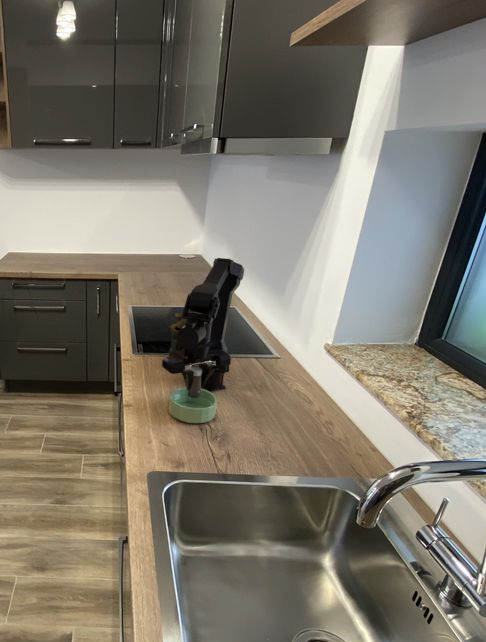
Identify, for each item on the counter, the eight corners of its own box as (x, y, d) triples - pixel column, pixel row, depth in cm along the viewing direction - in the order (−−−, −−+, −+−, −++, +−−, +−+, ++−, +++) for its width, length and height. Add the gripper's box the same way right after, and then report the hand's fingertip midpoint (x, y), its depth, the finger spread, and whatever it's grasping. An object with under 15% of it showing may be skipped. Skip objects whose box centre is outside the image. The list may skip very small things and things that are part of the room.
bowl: (199, 399, 136) (201, 384, 134) (224, 420, 125) (226, 404, 123) (160, 406, 132) (161, 391, 130) (183, 428, 121) (184, 412, 119)
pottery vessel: (195, 381, 147) (201, 324, 139) (163, 377, 150) (167, 321, 142) (201, 353, 169) (207, 303, 161) (173, 350, 172) (177, 300, 164)
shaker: (195, 391, 128) (198, 366, 125) (202, 396, 125) (205, 371, 122) (184, 393, 127) (187, 367, 124) (191, 398, 124) (193, 373, 121)
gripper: (212, 323, 129) (207, 372, 135) (154, 331, 123) (151, 381, 129) (235, 336, 119) (228, 388, 125) (173, 345, 113) (169, 399, 120)
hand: (194, 388), depth 125 cm, fingers closed on shaker, 3 cm apart
